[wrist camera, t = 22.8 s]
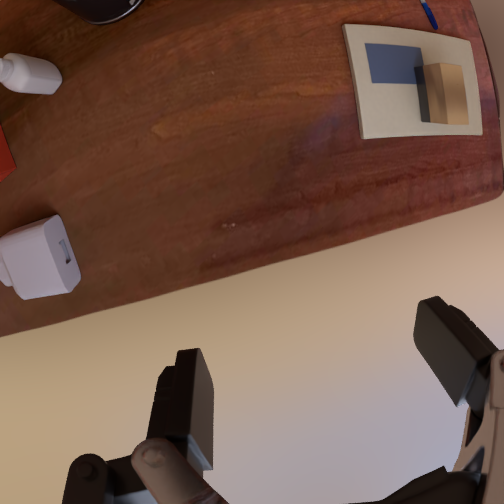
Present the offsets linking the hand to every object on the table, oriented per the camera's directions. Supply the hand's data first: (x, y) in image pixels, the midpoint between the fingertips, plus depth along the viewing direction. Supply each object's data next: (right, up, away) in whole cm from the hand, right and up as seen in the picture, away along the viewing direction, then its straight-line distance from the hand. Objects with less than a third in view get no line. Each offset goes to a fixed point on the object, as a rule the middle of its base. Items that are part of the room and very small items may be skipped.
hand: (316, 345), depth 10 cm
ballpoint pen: (+20, +37, +14) cm, 44 cm away
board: (+19, +24, +19) cm, 36 cm away
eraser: (+19, +22, +19) cm, 35 cm away
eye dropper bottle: (-27, +24, +16) cm, 40 cm away
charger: (-33, +3, +25) cm, 41 cm away
